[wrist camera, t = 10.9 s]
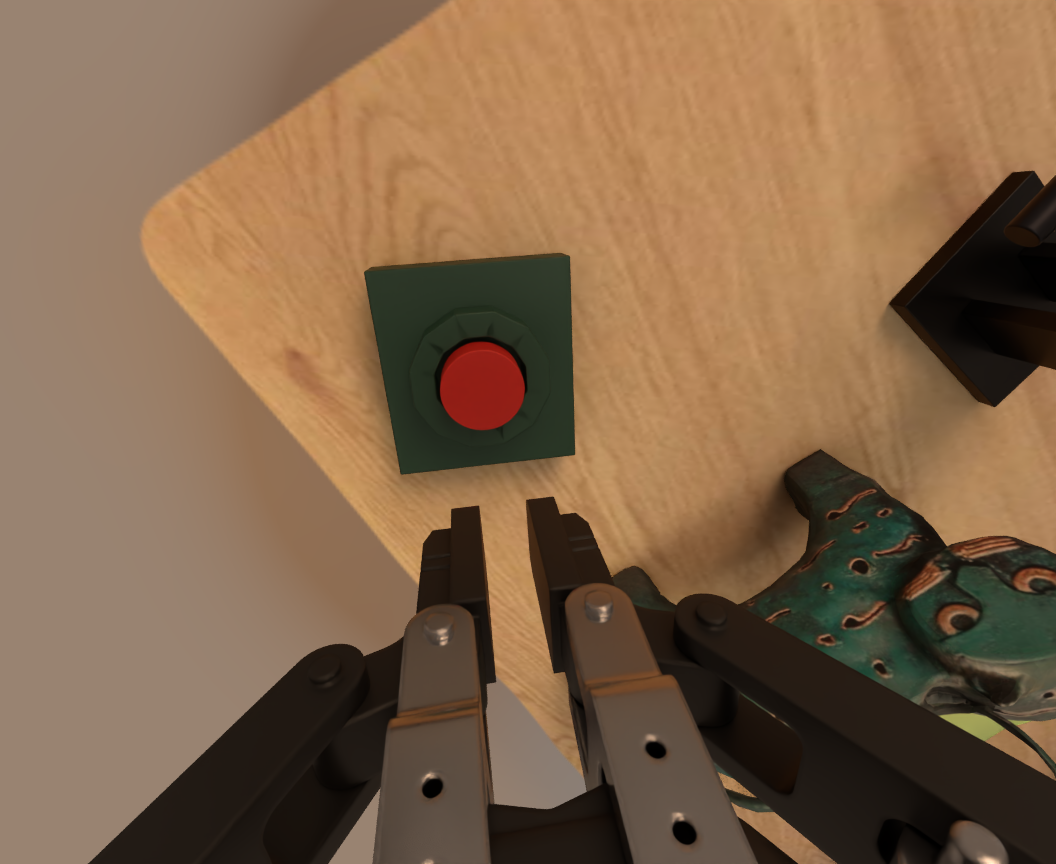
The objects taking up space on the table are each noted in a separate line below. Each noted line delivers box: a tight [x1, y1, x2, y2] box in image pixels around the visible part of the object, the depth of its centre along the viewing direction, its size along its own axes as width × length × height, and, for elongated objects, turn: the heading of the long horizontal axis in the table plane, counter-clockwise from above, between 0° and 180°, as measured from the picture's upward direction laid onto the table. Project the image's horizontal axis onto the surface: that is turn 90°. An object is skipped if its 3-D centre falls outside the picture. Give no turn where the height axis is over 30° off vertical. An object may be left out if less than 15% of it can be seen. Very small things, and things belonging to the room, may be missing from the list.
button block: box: [364, 253, 575, 474], centre depth 27 cm, size 11×10×4 cm
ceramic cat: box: [612, 449, 1056, 812], centre depth 27 cm, size 20×6×20 cm, turn 122°
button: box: [440, 342, 525, 430], centre depth 25 cm, size 4×4×2 cm
